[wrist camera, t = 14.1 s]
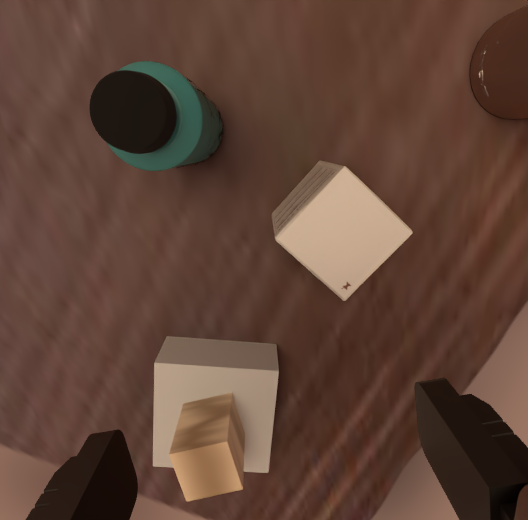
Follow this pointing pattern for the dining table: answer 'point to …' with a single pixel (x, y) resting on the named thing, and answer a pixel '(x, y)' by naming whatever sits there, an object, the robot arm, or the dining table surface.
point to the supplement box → (337, 227)
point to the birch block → (209, 447)
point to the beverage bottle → (154, 117)
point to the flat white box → (216, 390)
